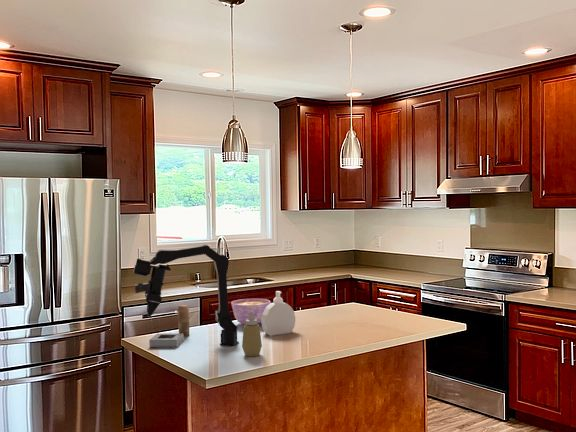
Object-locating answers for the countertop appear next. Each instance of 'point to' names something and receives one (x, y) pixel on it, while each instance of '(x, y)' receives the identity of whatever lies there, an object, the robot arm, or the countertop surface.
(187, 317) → the walnut peg
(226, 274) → the robot arm
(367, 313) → the countertop surface
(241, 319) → the bowl of food
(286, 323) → the soap bottle
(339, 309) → the countertop surface
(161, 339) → the socket block
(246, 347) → the squeeze bottle
